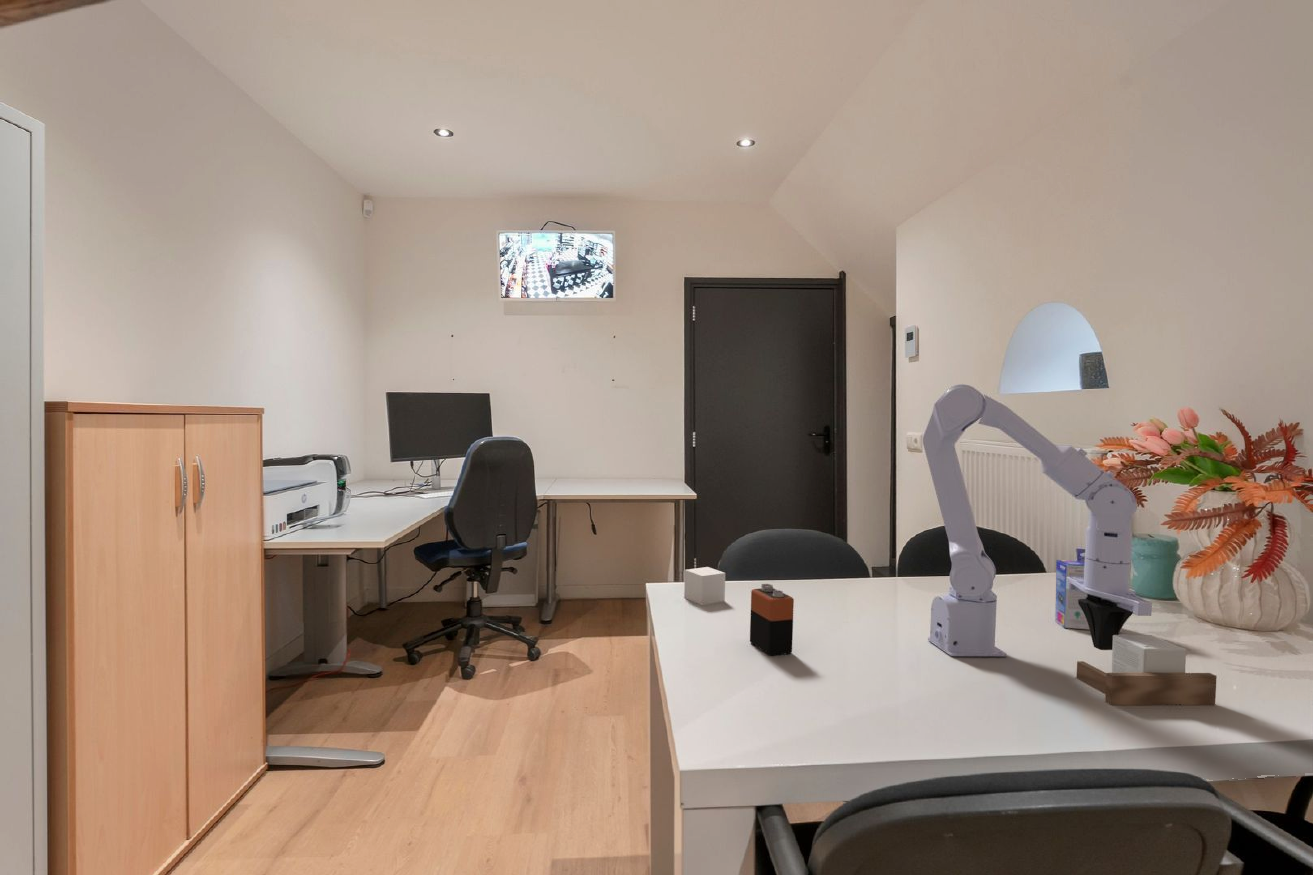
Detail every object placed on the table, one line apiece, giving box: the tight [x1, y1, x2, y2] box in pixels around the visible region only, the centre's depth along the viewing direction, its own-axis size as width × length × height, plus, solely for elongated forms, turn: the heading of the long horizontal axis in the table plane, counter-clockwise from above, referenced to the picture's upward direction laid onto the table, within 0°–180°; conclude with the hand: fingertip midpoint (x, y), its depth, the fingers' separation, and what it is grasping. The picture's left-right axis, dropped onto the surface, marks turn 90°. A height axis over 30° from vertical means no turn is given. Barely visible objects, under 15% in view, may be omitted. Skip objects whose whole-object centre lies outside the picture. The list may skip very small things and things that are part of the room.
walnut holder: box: [1075, 660, 1218, 706], centre depth 90 cm, size 15×9×4 cm, turn 94°
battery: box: [749, 583, 795, 656], centre depth 103 cm, size 4×7×10 cm, turn 21°
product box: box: [1111, 634, 1187, 673], centre depth 90 cm, size 6×6×7 cm
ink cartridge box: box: [1054, 548, 1123, 633], centre depth 119 cm, size 10×6×14 cm, turn 78°
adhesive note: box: [683, 566, 726, 606], centre depth 131 cm, size 6×6×6 cm
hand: (1103, 648), depth 96 cm, fingers closed
